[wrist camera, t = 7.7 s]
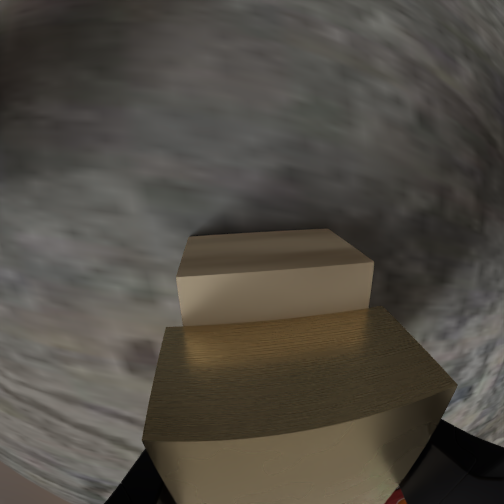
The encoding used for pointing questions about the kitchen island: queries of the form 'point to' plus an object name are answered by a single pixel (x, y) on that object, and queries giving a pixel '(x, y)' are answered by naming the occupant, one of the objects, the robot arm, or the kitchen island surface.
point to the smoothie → (396, 498)
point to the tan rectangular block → (292, 409)
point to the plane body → (270, 277)
